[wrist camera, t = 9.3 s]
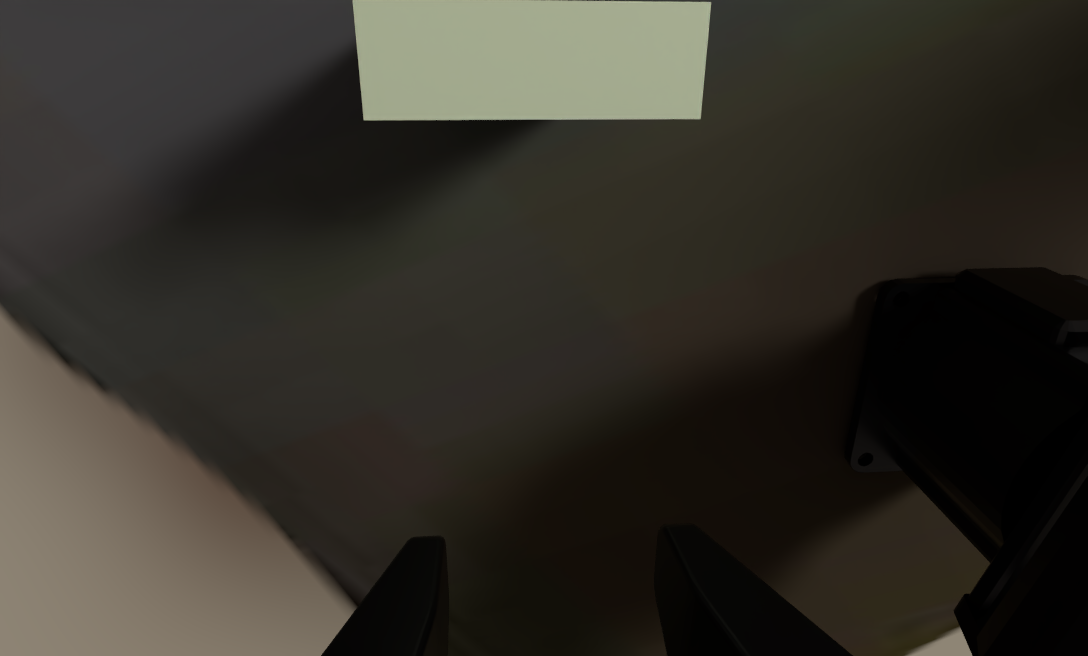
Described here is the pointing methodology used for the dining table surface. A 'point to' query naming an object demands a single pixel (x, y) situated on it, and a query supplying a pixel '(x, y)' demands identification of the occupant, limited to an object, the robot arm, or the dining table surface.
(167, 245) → the dining table surface
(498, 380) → the dining table surface
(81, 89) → the dining table surface
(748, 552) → the dining table surface
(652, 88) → the tile
